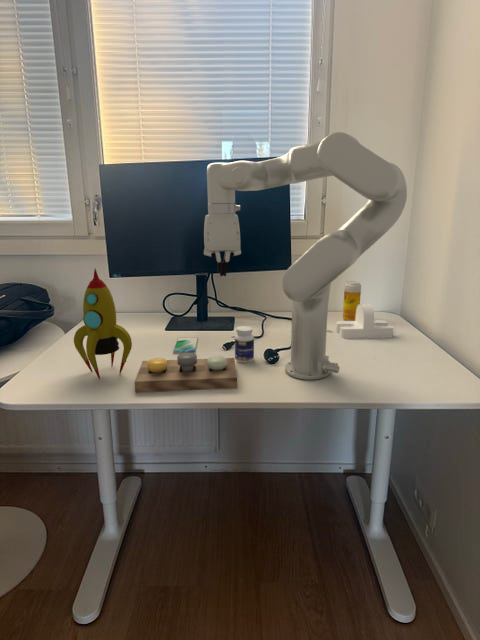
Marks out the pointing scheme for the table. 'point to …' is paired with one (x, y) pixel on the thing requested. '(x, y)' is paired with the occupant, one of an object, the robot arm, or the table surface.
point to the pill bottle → (244, 344)
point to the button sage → (217, 363)
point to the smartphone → (185, 345)
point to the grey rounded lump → (187, 361)
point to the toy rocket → (100, 326)
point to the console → (186, 377)
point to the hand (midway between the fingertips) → (222, 275)
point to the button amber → (157, 365)
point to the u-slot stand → (364, 325)
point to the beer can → (351, 300)
